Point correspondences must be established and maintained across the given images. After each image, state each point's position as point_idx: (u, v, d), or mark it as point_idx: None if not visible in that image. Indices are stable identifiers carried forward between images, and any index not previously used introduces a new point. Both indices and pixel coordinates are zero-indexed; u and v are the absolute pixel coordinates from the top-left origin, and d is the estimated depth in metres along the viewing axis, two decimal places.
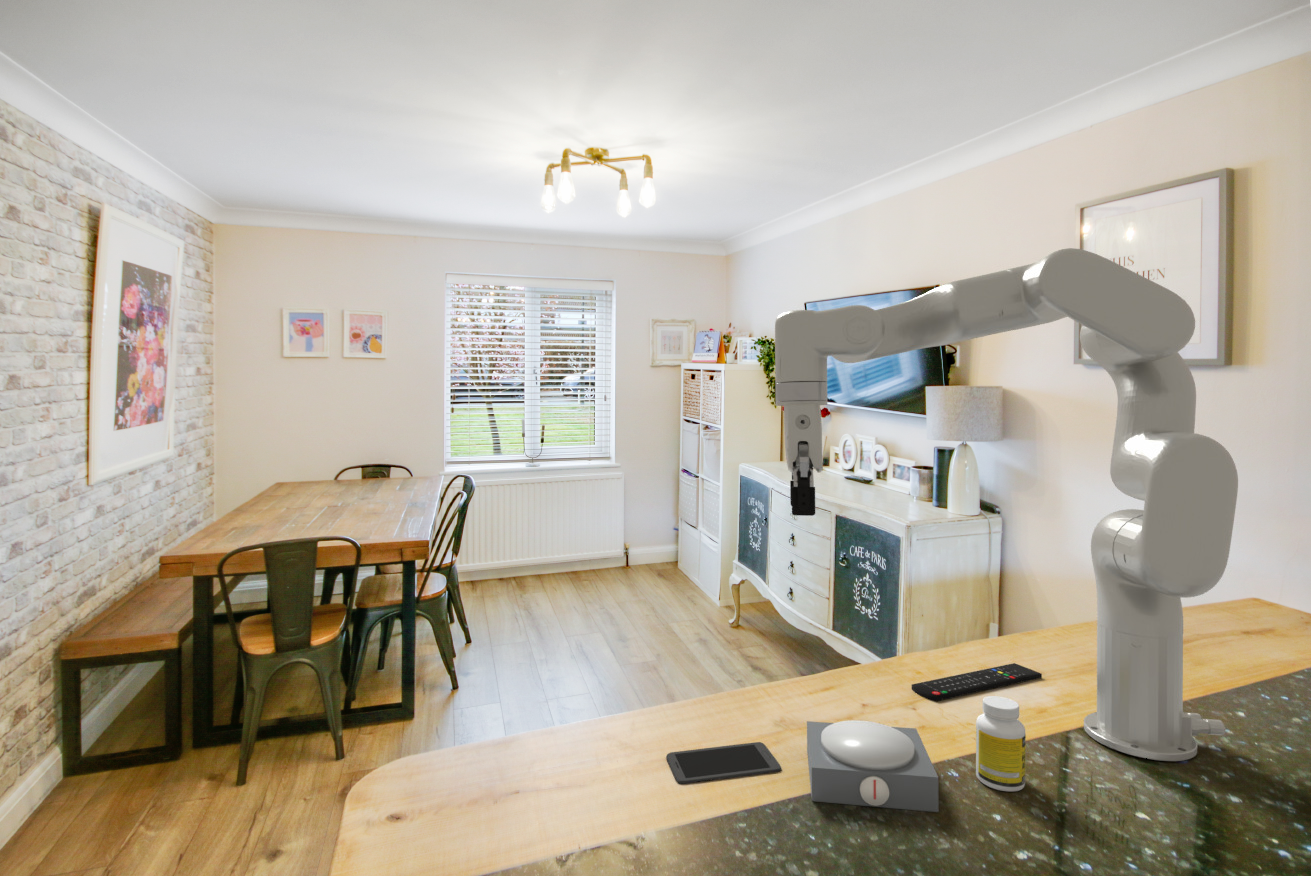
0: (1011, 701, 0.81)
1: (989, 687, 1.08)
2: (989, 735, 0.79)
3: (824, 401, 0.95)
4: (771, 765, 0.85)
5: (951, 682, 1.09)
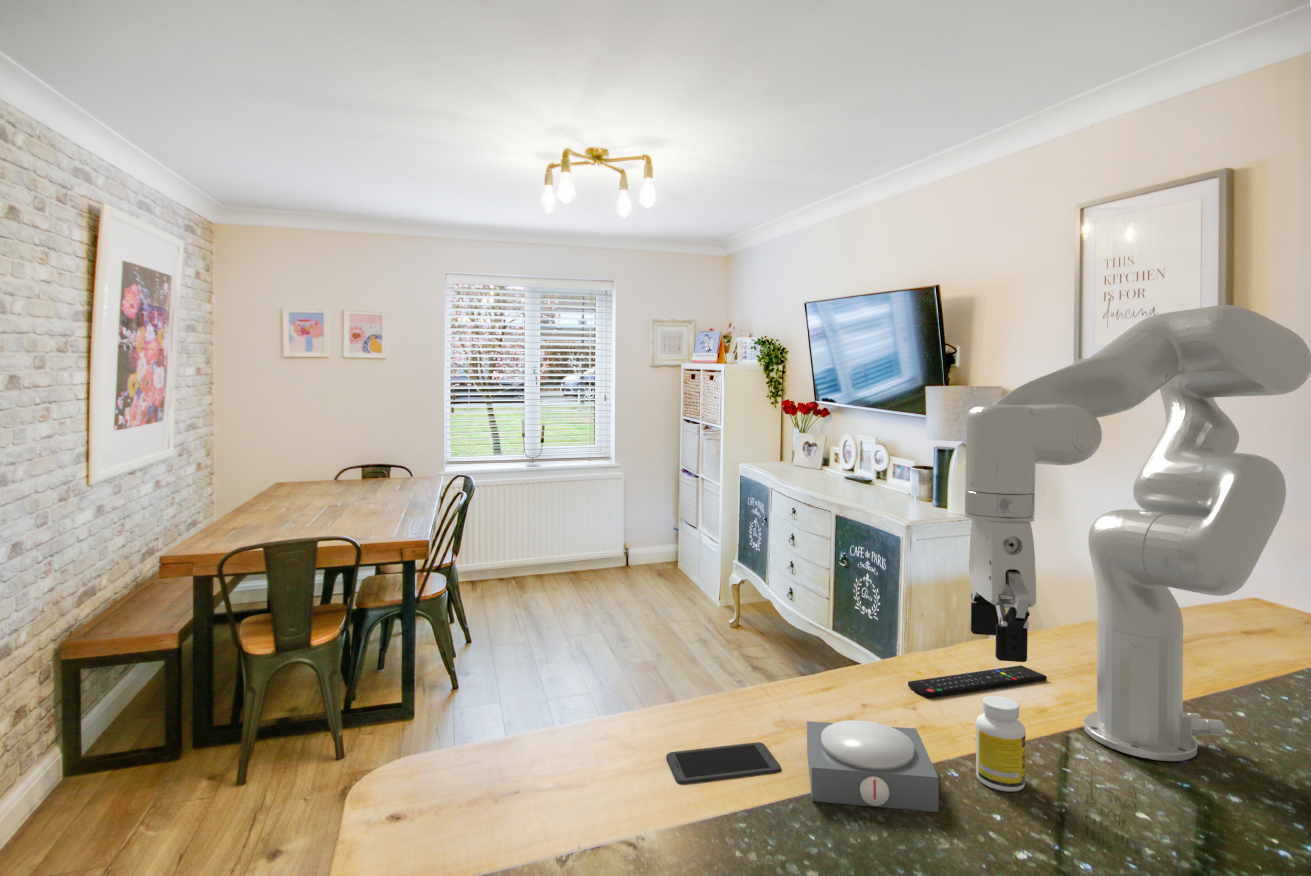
0: (1011, 701, 0.81)
1: (987, 687, 1.08)
2: (989, 735, 0.79)
3: (1033, 517, 0.77)
4: (771, 765, 0.84)
5: (949, 680, 1.10)
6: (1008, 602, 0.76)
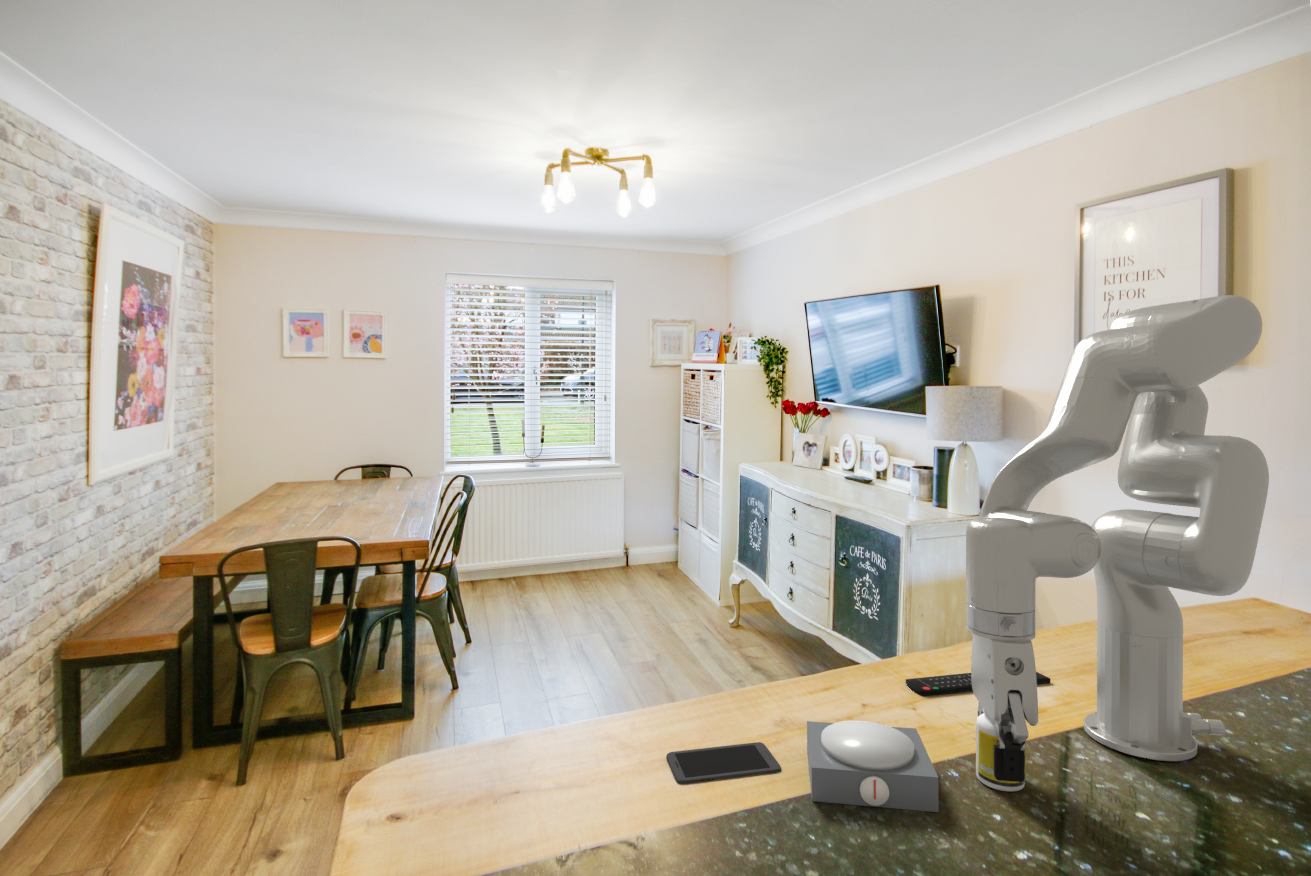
0: None
1: None
2: (989, 735, 0.79)
3: (1034, 633, 0.78)
4: (771, 765, 0.84)
5: (947, 679, 1.10)
6: (1007, 724, 0.77)
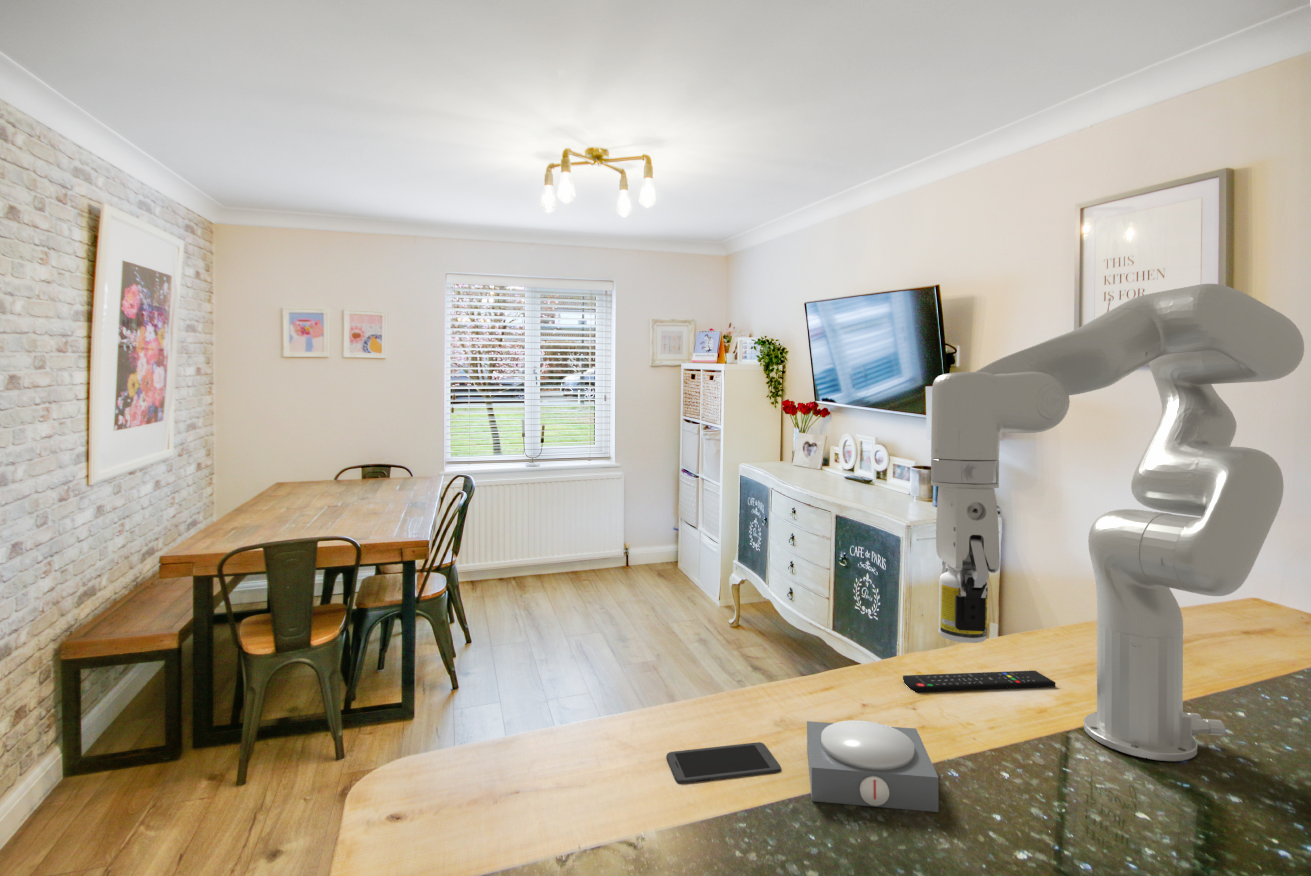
0: None
1: (984, 687, 1.08)
2: (951, 587, 0.79)
3: (997, 484, 0.78)
4: (771, 765, 0.84)
5: (945, 678, 1.11)
6: (969, 573, 0.77)
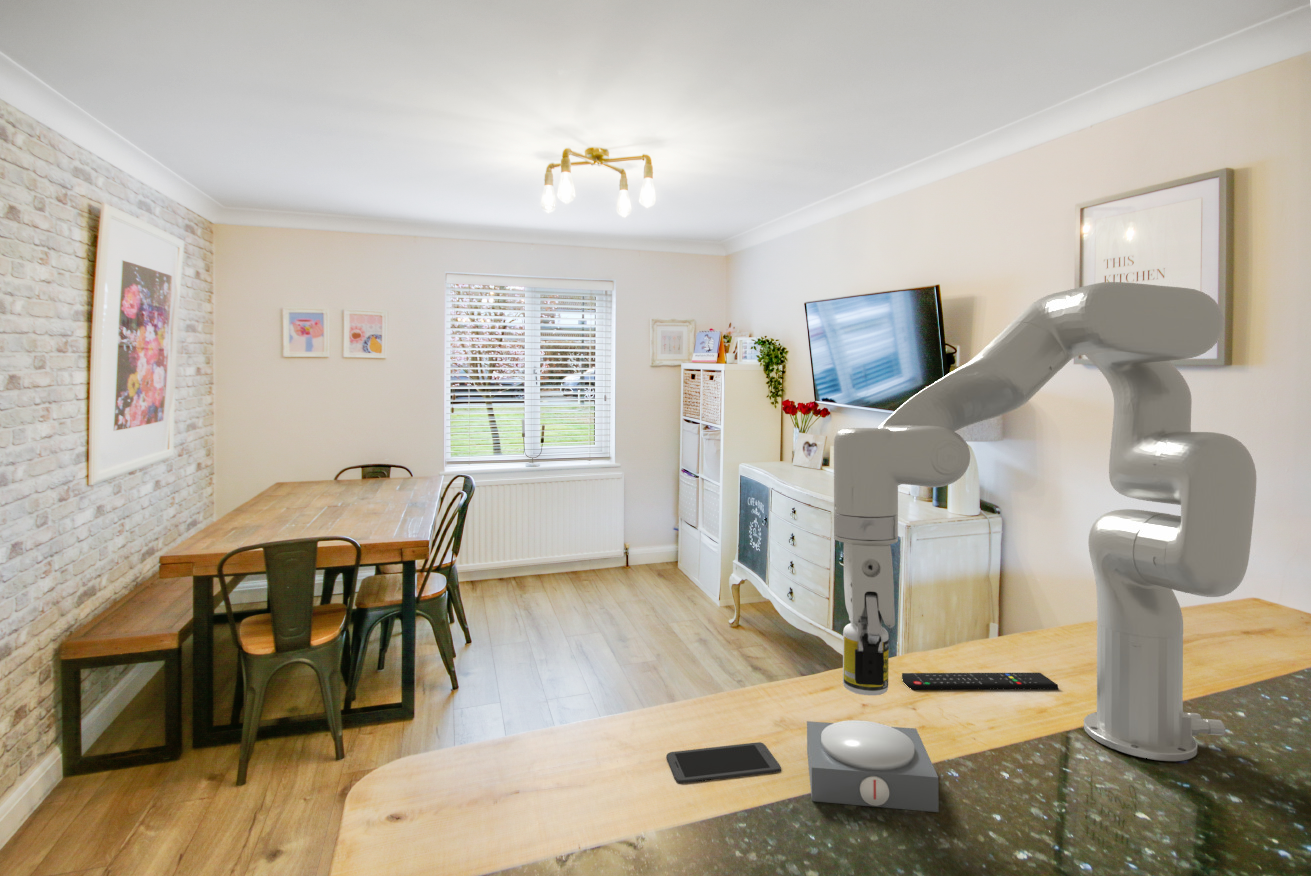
0: None
1: (983, 687, 1.08)
2: (852, 640, 0.80)
3: (895, 539, 0.79)
4: (771, 765, 0.84)
5: (945, 677, 1.11)
6: (867, 628, 0.78)
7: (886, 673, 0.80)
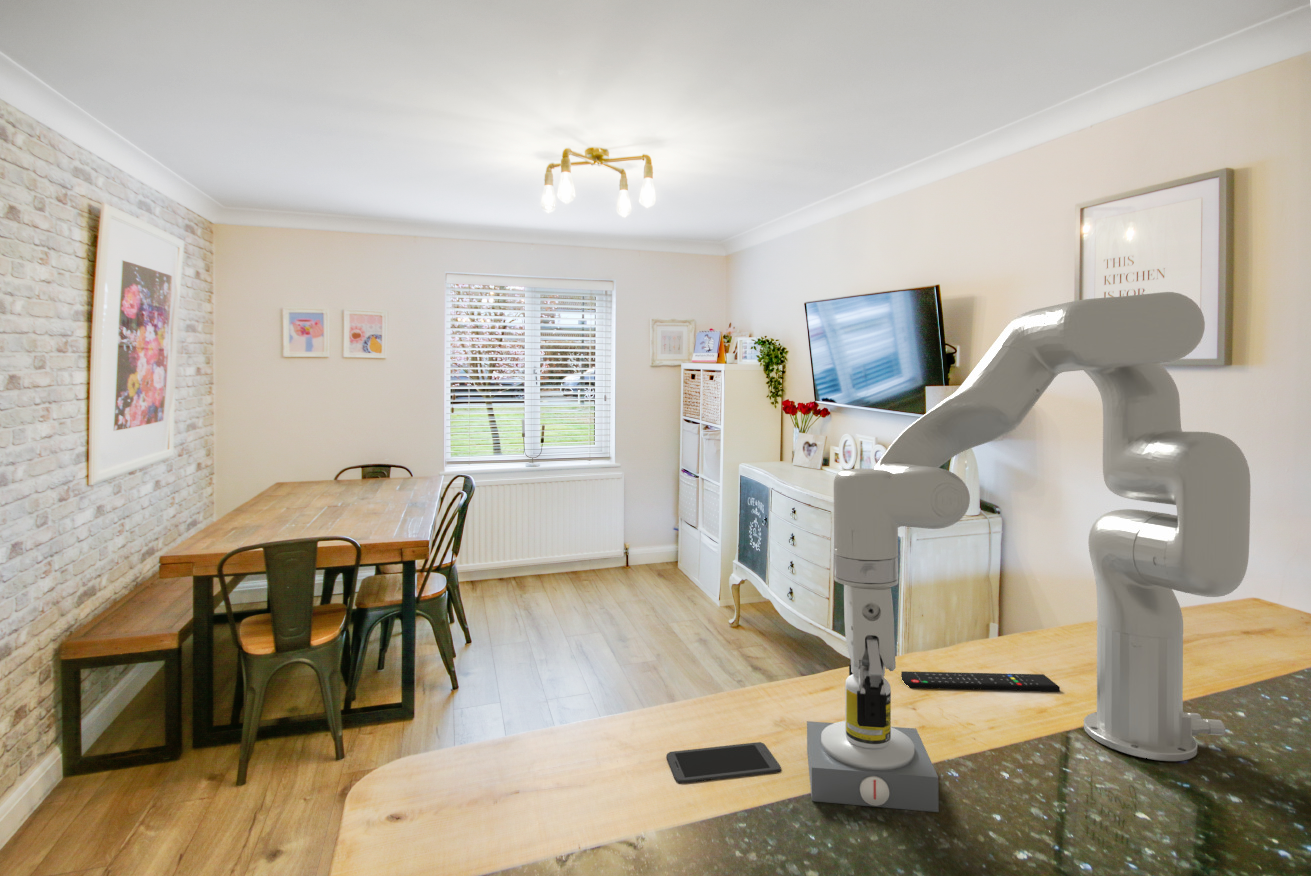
0: None
1: (981, 687, 1.08)
2: (854, 693, 0.80)
3: (895, 581, 0.79)
4: (771, 765, 0.84)
5: (944, 676, 1.12)
6: (868, 669, 0.77)
7: (888, 726, 0.80)
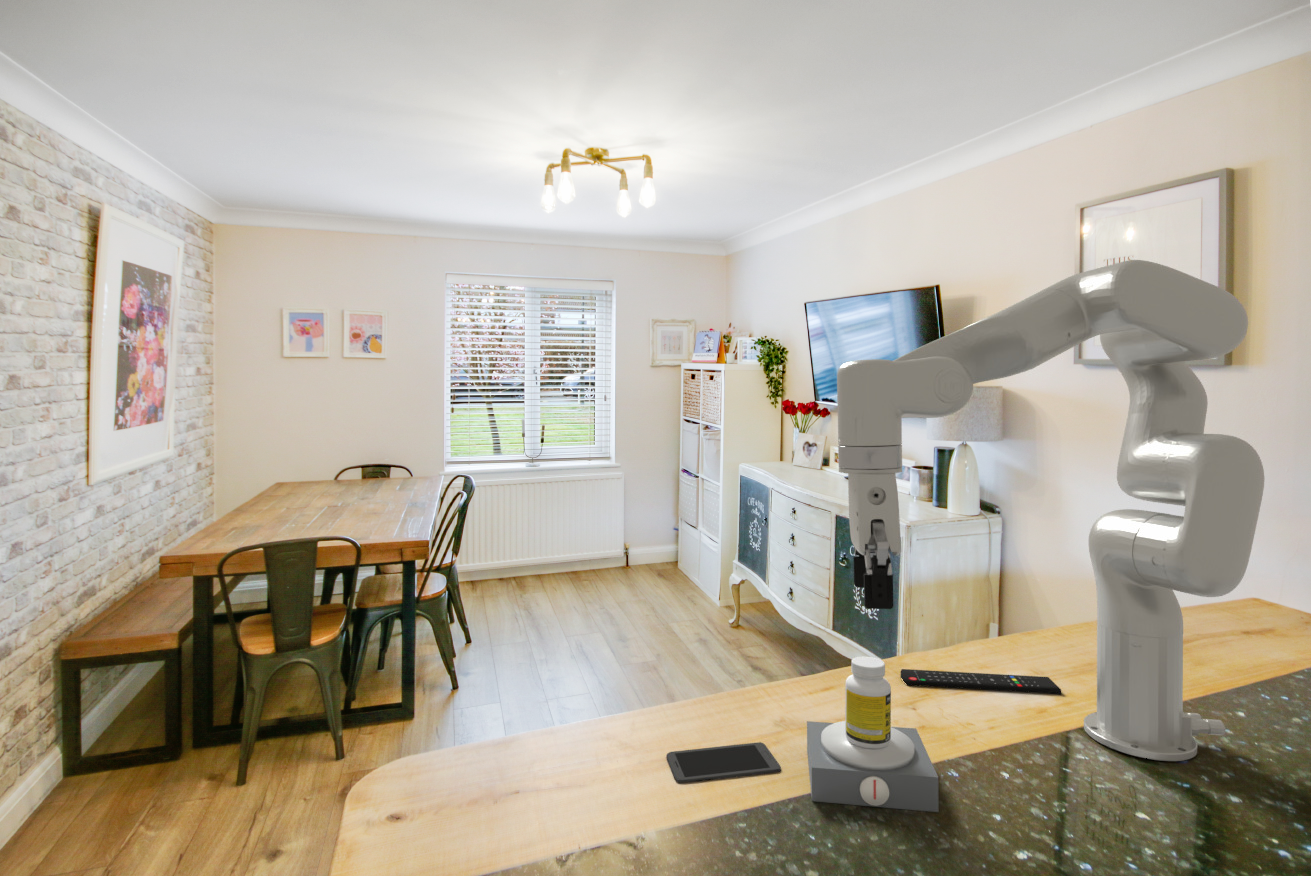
0: (879, 661, 0.82)
1: (980, 687, 1.08)
2: (854, 693, 0.80)
3: (900, 468, 0.79)
4: (771, 765, 0.84)
5: (944, 675, 1.12)
6: (874, 551, 0.77)
7: (888, 726, 0.80)
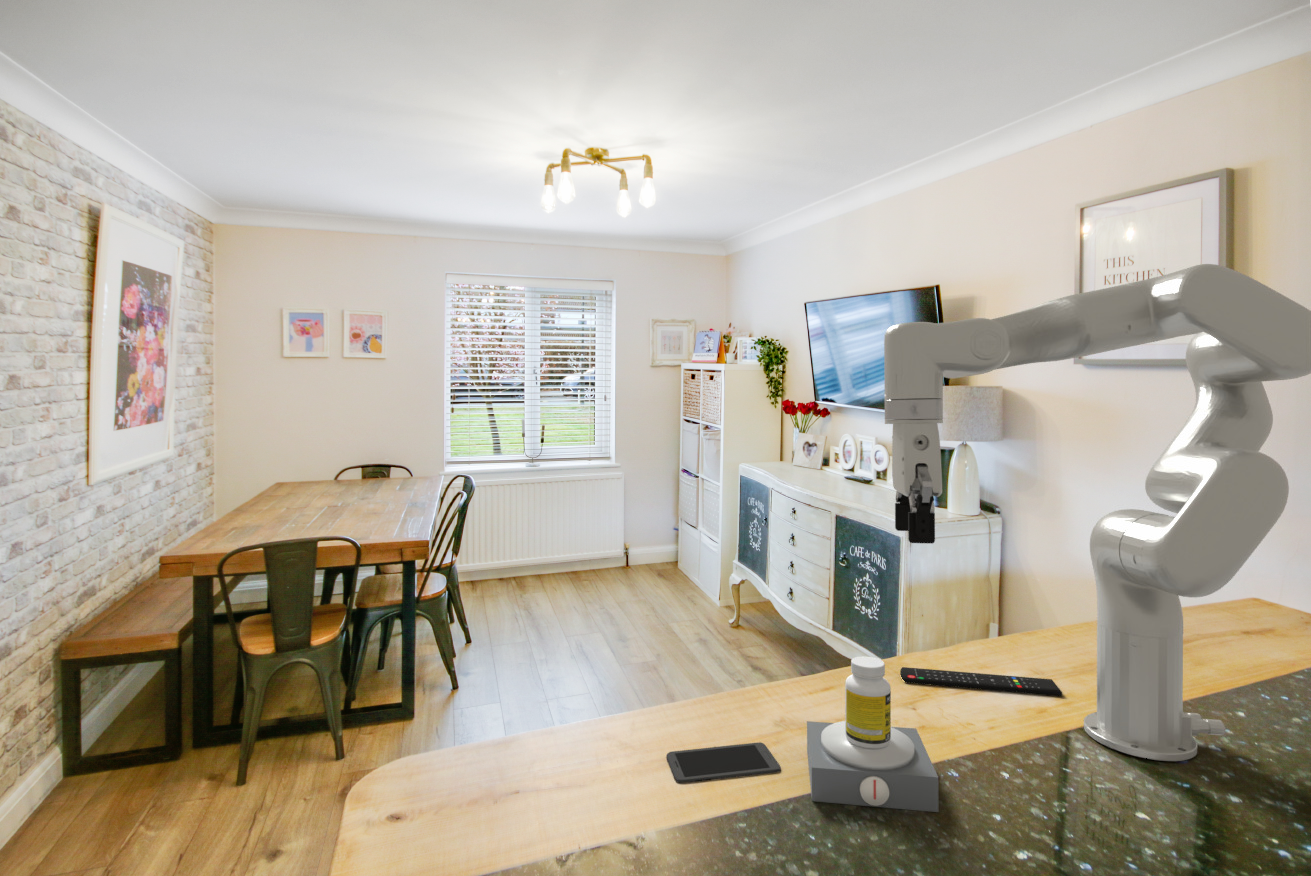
0: (878, 661, 0.82)
1: (978, 686, 1.08)
2: (854, 693, 0.80)
3: (941, 420, 0.89)
4: (771, 765, 0.84)
5: (944, 674, 1.12)
6: (918, 492, 0.87)
7: (888, 726, 0.80)
